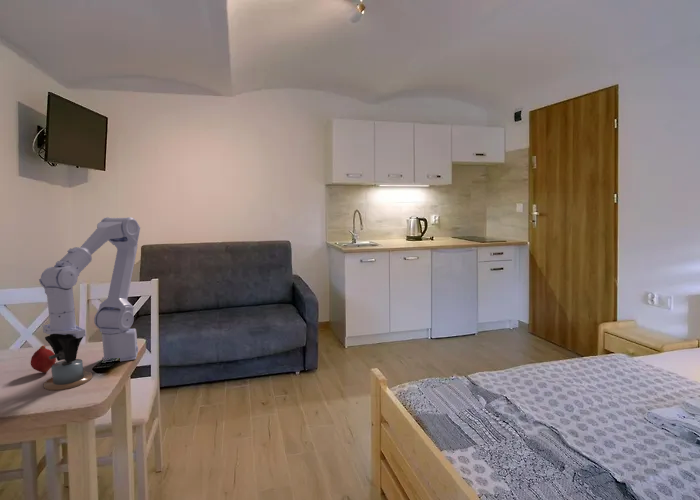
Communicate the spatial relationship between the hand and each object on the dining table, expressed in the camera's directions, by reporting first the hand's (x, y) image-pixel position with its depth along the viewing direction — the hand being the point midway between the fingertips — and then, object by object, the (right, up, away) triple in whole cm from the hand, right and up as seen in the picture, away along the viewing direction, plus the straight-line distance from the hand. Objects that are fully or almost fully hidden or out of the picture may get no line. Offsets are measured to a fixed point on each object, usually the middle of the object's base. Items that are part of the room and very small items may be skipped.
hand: (66, 360), depth 113 cm
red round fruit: (-11, -6, +7) cm, 14 cm away
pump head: (0, 0, -1) cm, 1 cm away
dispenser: (0, -6, +1) cm, 6 cm away
